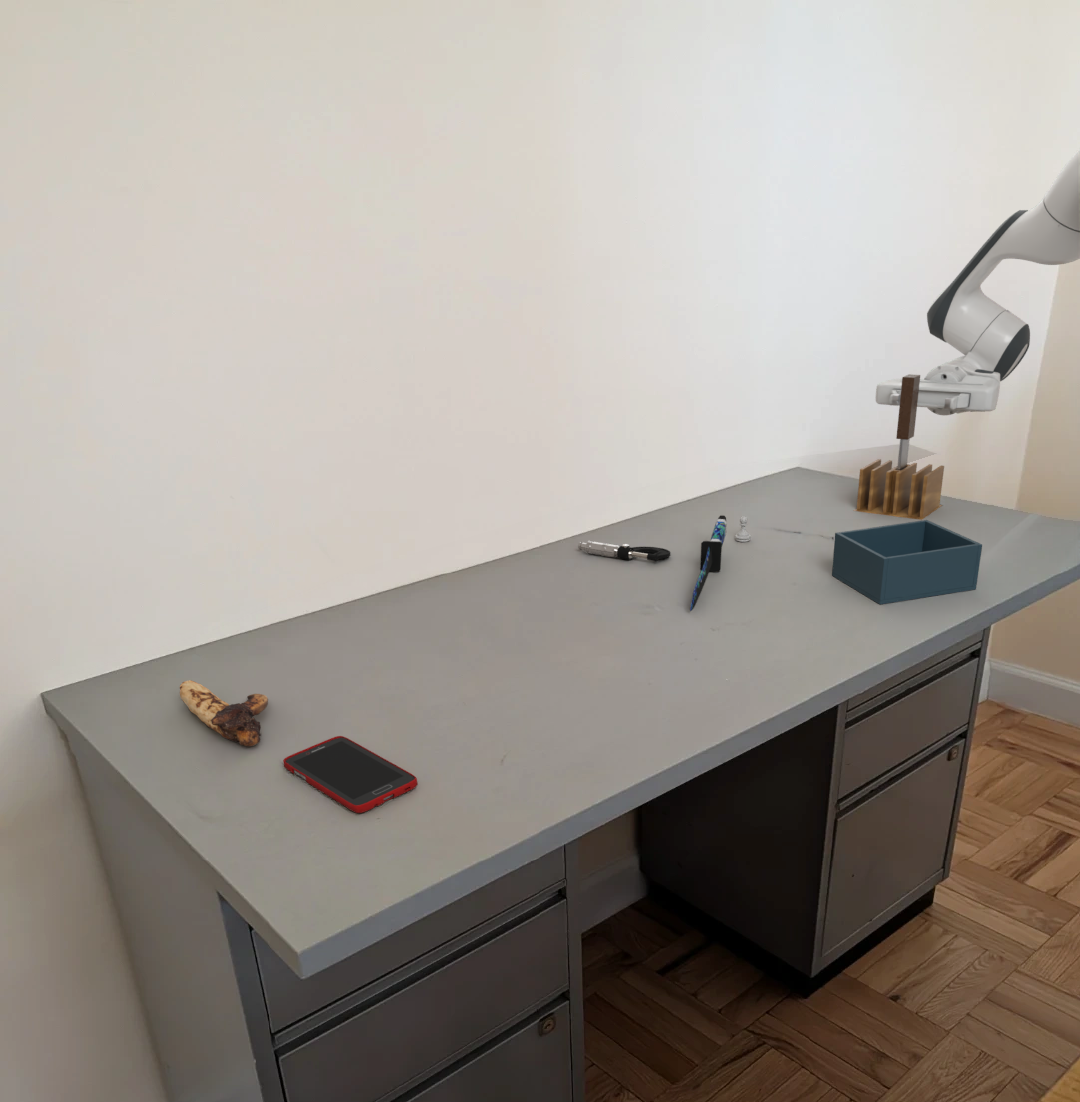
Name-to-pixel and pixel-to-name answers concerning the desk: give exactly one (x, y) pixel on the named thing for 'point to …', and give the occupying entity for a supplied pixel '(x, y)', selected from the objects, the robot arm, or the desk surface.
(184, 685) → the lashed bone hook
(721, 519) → the knife
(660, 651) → the desk surface
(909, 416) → the kitchen knife
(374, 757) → the cell phone
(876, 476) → the dish rack
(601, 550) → the micrometer
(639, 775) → the desk surface
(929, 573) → the open box
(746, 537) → the pawn
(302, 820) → the desk surface
